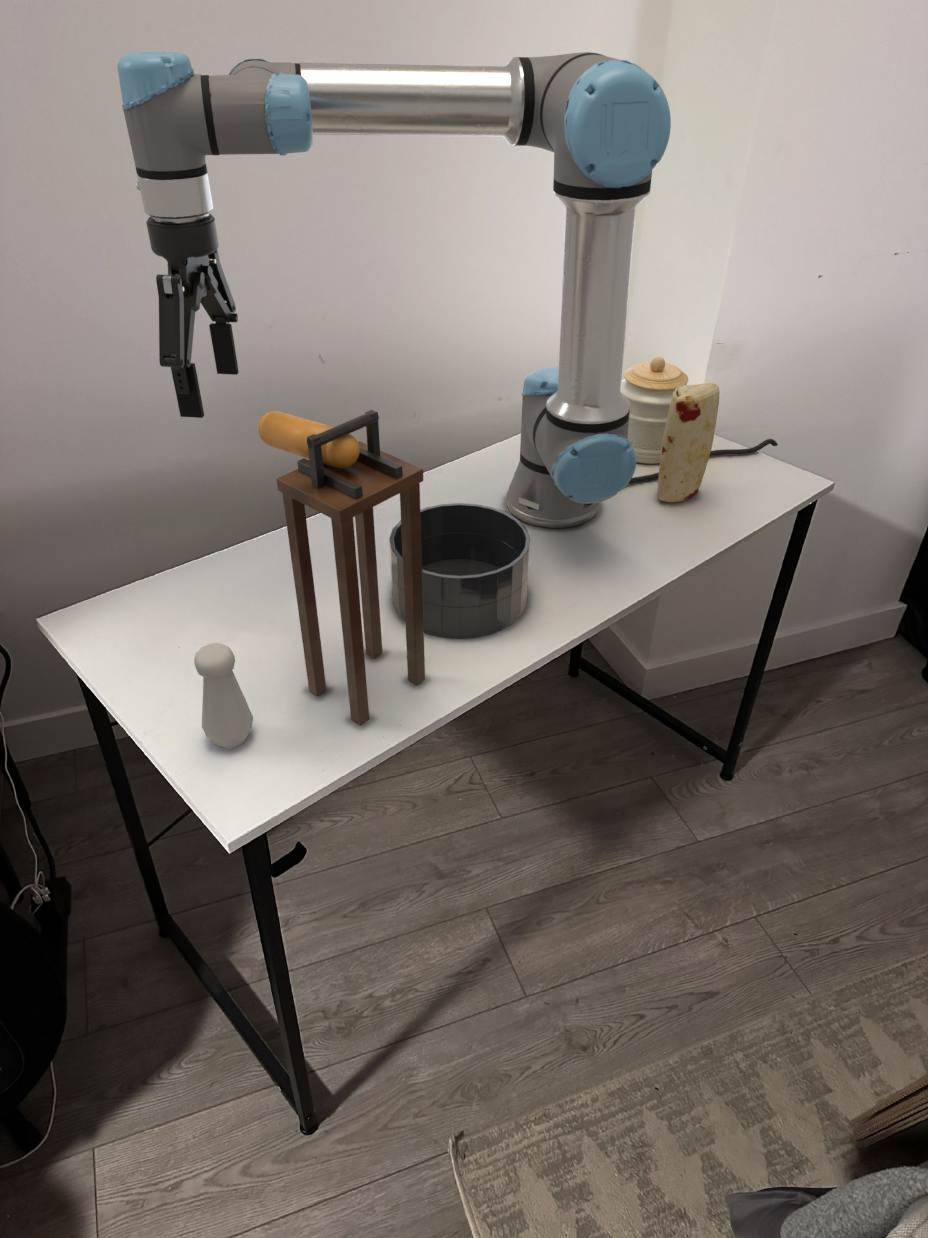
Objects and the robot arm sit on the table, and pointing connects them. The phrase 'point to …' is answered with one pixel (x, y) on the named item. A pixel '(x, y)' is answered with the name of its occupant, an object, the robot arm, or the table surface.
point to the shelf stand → (341, 501)
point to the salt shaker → (222, 697)
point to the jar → (650, 404)
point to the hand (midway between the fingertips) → (211, 393)
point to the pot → (466, 569)
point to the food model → (687, 441)
